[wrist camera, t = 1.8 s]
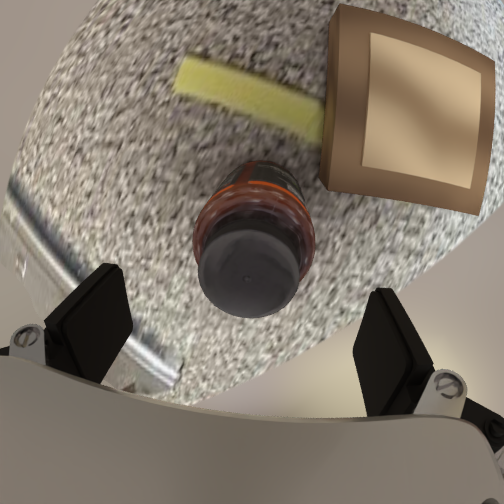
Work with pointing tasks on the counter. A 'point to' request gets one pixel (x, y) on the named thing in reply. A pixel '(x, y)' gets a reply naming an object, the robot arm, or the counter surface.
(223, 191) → the supplement bottle
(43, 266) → the counter surface
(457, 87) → the base slab
